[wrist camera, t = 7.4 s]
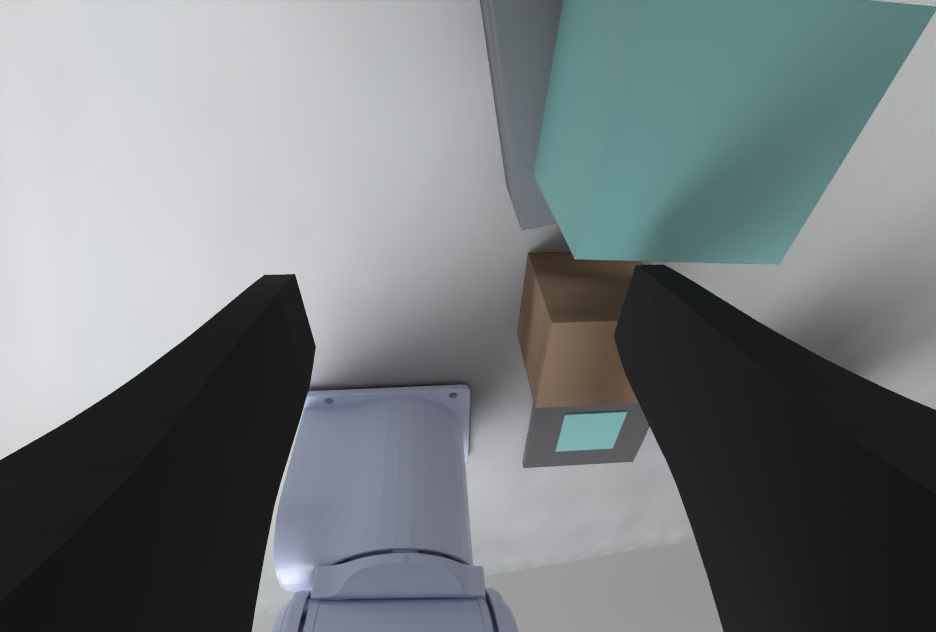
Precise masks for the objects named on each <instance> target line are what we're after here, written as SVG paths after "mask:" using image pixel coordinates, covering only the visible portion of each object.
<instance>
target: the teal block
mask: <svg viewBox="0 0 936 632" xmlns="http://www.w3.org/2000/svg"><path fill="white" fill-rule="evenodd" d="M935 11H936V7H933V6H923V5H912V4H902V3H891V2H881V1H870V0H563V4H562V10H561V16H560V22H559V27H558V33H557V39H556V45H555V51H554V56H553V62H552V68H551V74H550V80H549V86H548V91H547V97H546V103H545V109H544V115H543V121H542V126H541V132H540V138H539V144H538V150H537V156H536V161H535V167H534V173H533V175H534V177H535V179H536V181H537V183H538V185H539V187H540V190H541V192H542V194H543V196H544V198H545V200H546V202H547V204H548V206H549V208H550V210H551V212H552V214H553V216H554V218H555V220H556V222H557V224H558V226H559V228H560V230H561V232H562V234H563V236H564V238H565V240H566V242H567V244H568V246H569V248H570V251H571V253H572V255H573V257H574V259H585V260H624V261H663V262H703V263H742V264H780V262H781V260H782V259H783V257H784V256H785V254H786V252H787V251H788V249H789V248H790V246H791V244H792V243H793V241H794V239H795V238H796V236H797V235H798V233H799V231H800V230H801V228H802V226H803V225H804V223H805V222H806V220H807V218H808V217H809V215H810V214H811V212H812V210H813V209H814V207H815V205H816V204H817V202H818V201H819V199H820V197H821V196H822V194H823V192H824V191H825V189H826V188H827V186H828V184H829V183H830V181H831V179H832V178H833V176H834V175H835V173H836V171H837V170H838V168H839V167H840V165H841V163H842V162H843V160H844V158H845V157H846V155H847V154H848V152H849V150H850V149H851V147H852V145H853V144H854V142H855V141H856V139H857V137H858V136H859V134H860V133H861V131H862V129H863V128H864V126H865V124H866V123H867V121H868V120H869V118H870V116H871V115H872V113H873V111H874V110H875V108H876V107H877V105H878V103H879V102H880V100H881V99H882V97H883V95H884V94H885V92H886V90H887V89H888V87H889V86H890V84H891V82H892V81H893V79H894V77H895V76H896V74H897V73H898V71H899V69H900V68H901V66H902V64H903V63H904V61H905V60H906V58H907V56H908V55H909V53H910V52H911V50H912V48H913V47H914V45H915V43H916V42H917V40H918V39H919V37H920V35H921V34H922V32H923V30H924V29H925V27H926V26H927V24H928V22H929V21H930V19H931V18H932V16H933V14H934V13H935Z"/></svg>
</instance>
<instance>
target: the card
mask: <svg viewBox="0 0 936 632" xmlns="http://www.w3.org/2000/svg"><path fill="white" fill-rule="evenodd" d="M648 428H649V424H648V422H647V420H646V417H645V415H644V413H643V411H642V409H641V407H640V405H639V403H633V404H611V405H589V406H567V407H545V408H535V405H534V402H533V407H532V413H531V419H530V424H529V430H528V435H527V441H526V447H525V452H524V458H523V467H524V468H531V467H548V466H565V465H583V464H600V463H617V462H633V460H634V458H635V456H636V454H637V452H638V450H639V447H640V445H641V443H642V441H643V439H644V437H645V435H646V433H647V430H648Z"/></svg>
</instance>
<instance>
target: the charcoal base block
mask: <svg viewBox="0 0 936 632" xmlns="http://www.w3.org/2000/svg"><path fill="white" fill-rule="evenodd" d="M480 4H481V11H482V18H483V25H484V32H485V39H486V46H487V53H488V60H489V67H490V74H491V81H492V88H493V95H494V102H495V109H496V116H497V123H498V130H499V137H500V144H501V151H502V158H503V165H504V172H505V179H506V186H507V189H508V192H509V195H510V198H511V200H512V203H513V206H514V209H515V212H516V215H517V218H518V221H519V224H520V226H521V229H522V230H526V229H531V228H535V227H540V226H545V225H550V224H555V223H557V222H556V220H555V218H554V216H553V214H552V212H551V210H550V208H549V206H548V204H547V202H546V200H545V198H544V196H543V194H542V192H541V190H540V187H539V185H538V183H537V181H536V179H535V177H534V175H533V173H534V167H535V161H536V156H537V150H538V144H539V138H540V132H541V126H542V121H543V115H544V109H545V103H546V97H547V91H548V86H549V80H550V74H551V68H552V62H553V56H554V51H555V45H556V39H557V33H558V27H559V22H560V16H561V10H562V4H563V0H480Z"/></svg>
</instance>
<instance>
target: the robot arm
mask: <svg viewBox="0 0 936 632" xmlns="http://www.w3.org/2000/svg"><path fill="white" fill-rule="evenodd" d="M614 339H615V343H616V346H617V350H618V353H619V356H620V360H621V363H622V366H623V369H624V372H625V375H626V377H627V379H628V381H629V384H630V386H631V388H632V390H633V392H634V394H635V396H636V399H637V401H638V403H639V405H640V407H641V409H642V411H643V413H644V415H645V417H646V420H647V422H648V424H649V426H650V428H651V430H652V432H653V434H654V436H655V438H656V440H657V442H658V444H659V447H660V449H661V451H662V453H663V455H664V457H665V459H666V461H667V463H668V466H669V468H670V470H671V473H672V475H673V477H674V480H675V482H676V485H677V487H678V490H679V493H680V496H681V499H682V502H683V504H684V507H685V510H686V513H687V516H688V518H689V521H690V524H691V527H692V530H693V533H694V536H695V539H696V542H697V545H698V548H699V551H700V554H701V557H702V561H703V564H704V567H705V569H706V573H707V576H708V579H709V583H710V586H711V590H712V593H713V597H714V600H715V603H716V607H717V610H718V614H719V617H720V621H721V624H722V628H723V631H724V632H936V410H934V409H932V408H930V407H927V406H924V405H922V404H920V403H918V402H915V401H913V400H910V399H908V398H906V397H904V396H901V395H899V394H897V393H895V392H892V391H890V390H888V389H886V388H884V387H881V386H879V385H877V384H875V383H873V382H871V381H869V380H867V379H865V378H863V377H861V376H859V375H856V374H854V373H852V372H850V371H848V370H846V369H844V368H842V367H840V366H838V365H836V364H834V363H832V362H830V361H828V360H826V359H824V358H822V357H820V356H818V355H816V354H815V353H813V352H811V351H809V350H807V349H806V348H804V347H802V346H800V345H798V344H797V343H795V342H793V341H791V340H789V339H788V338H786V337H784V336H782V335H780V334H779V333H777V332H775V331H773V330H772V329H770V328H768V327H767V326H765V325H763V324H761V323H760V322H758V321H756V320H755V319H753V318H752V317H750V316H748V315H747V314H745V313H743V312H742V311H740V310H738V309H737V308H735V307H734V306H732V305H730V304H729V303H727V302H725V301H724V300H722V299H721V298H719V297H717V296H716V295H714V294H713V293H711V292H709V291H708V290H706V289H705V288H703V287H701V286H700V285H698V284H697V283H695V282H693V281H692V280H690V279H688V278H687V277H685V276H683V275H682V274H680V273H678V272H676V271H674V270H673V269H671V268H669V267H667V266H665V265H636V266H635V269H634V272H633V275H632V278H631V282H630V285H629V288H628V291H627V294H626V297H625V301H624V304H623V307H622V310H621V313H620V317H619V320H618V323H617V326H616V329H615V333H614ZM315 348H316V346H315V343H314V339H313V336H312V332H311V329H310V325H309V322H308V318H307V315H306V311H305V308H304V304H303V301H302V297H301V294H300V290H299V287H298V283H297V280H296V276H295V274H287V275H264V276H263V277H261V278H260V279H258V280H257V281H256V282H255V283H253V284H252V285H251V286H250V287H248V288H247V289H246V290H245V291H243V292H242V293H241V294H240V295H239V296H237V297H236V298H235V299H234V300H233V301H231V302H230V303H229V304H228V305H227V306H225V307H224V308H223V309H222V310H221V311H219V312H218V313H217V314H216V315H214V316H213V317H212V318H211V319H210V320H208V321H207V322H206V323H205V324H203V325H202V326H201V327H200V328H199V329H197V330H196V331H195V332H194V333H192V334H191V335H190V336H189V337H188V338H186V339H185V340H184V341H182V342H181V343H180V344H178V345H177V346H176V347H174V348H173V349H172V350H170V351H169V352H168V353H166V354H165V355H164V356H162V357H161V358H160V359H158V360H157V361H156V362H154V363H153V364H152V365H150V366H149V367H148V368H146V369H145V370H144V371H142V372H141V373H140V374H138V375H137V376H136V377H134V378H133V379H131V380H130V381H129V382H127V383H126V384H124V385H123V386H121V387H120V388H118V389H117V390H115V391H114V392H112V393H111V394H109V395H108V396H107V397H105V398H103V399H102V400H100V401H99V402H97V403H96V404H94V405H92V406H91V407H89V408H88V409H86V410H85V411H83V412H82V413H80V414H78V415H77V416H75V417H74V418H72V419H71V420H69V421H67V422H66V423H64V424H62V425H61V426H59V427H58V428H56V429H54V430H52V431H51V432H49V433H47V434H45V435H44V436H42V437H40V438H38V439H37V440H35V441H33V442H31V443H30V444H28V445H26V446H24V447H23V448H21V449H19V450H17V451H16V452H14V453H12V454H10V455H9V456H7V457H5V458H3V459H2V460H0V632H252V625H253V619H254V612H255V606H256V601H257V595H258V589H259V583H260V578H261V572H262V566H263V561H264V555H265V550H266V545H267V540H268V535H269V530H270V525H271V520H272V515H273V510H274V505H275V501H276V498H277V494H278V490H279V486H280V483H281V479H282V476H283V473H284V470H285V466H286V463H287V460H288V457H289V453H290V450H291V447H292V444H293V440H294V437H295V434H296V431H297V427H298V424H299V421H300V418H301V414H302V411H303V408H304V412H303V415H302V419H301V423H300V426H299V430H298V434H297V438H296V441H295V445H294V449H293V452H292V456H291V460H290V464H289V467H288V471H287V475H286V478H285V482H284V486H283V490H282V493H281V497H280V501H279V506H278V511H277V516H276V524H275V533H274V565H275V571H276V576H277V579H278V582H279V584H280V586H281V587H282V588H283V589H284V590H287V591H294V592H296V593H295V594H294V596H293V597H292V599H291V600H290V601H289V602H287V603H286V604H285V605H284V606H283V607H282V609H281V610H280V612H279V614H278V616H277V619H276V622H275V625H274V627H273V631H272V632H518V628H517V625H516V621H515V618H514V616H513V613H512V611H511V609H510V608H509V606H508V605H507V604H506V603H505V601H504V600H503V598H502V596H501V595H500V593H499V592H498V591H497V590H495V589H493V588H485V583H484V572H483V567H482V566H473V559H472V546H471V533H470V520H469V507H468V494H467V481H466V468H465V465H466V464H467V463H468V447H469V416H470V389H469V387H468V386H466V385H440V386H417V387H394V388H372V389H349V390H326V391H309V386H310V381H311V375H312V369H313V362H314V355H315ZM308 391H309V392H308ZM452 392H454V393H452ZM330 398H331V399H330ZM311 592H312V593H311Z"/></svg>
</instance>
